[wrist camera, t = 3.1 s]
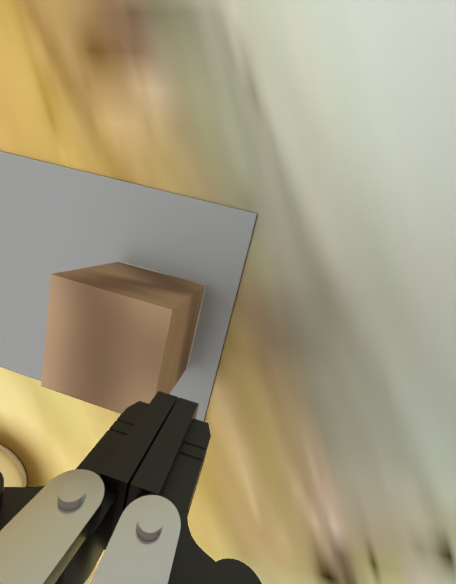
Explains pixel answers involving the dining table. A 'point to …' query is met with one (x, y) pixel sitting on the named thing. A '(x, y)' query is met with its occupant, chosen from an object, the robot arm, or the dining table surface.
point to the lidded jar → (12, 469)
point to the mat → (112, 255)
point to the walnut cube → (118, 333)
